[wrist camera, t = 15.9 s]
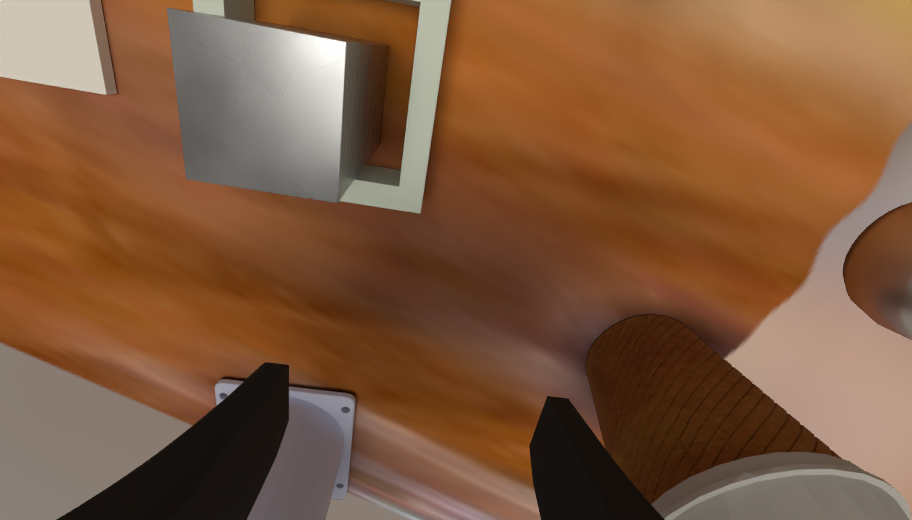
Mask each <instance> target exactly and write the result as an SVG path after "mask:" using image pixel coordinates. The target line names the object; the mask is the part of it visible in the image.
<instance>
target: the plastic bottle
mask: <svg viewBox="0 0 912 520" xmlns="http://www.w3.org/2000/svg"><path fill="white" fill-rule="evenodd" d="M843 277H844V282H845V286H846V290H847V293H848V295H849V297H850V299H851V300H852V301H853V302H854V303H855V304H856V305H857V306H858V307H859V308H860V309H861V310H863V311H864V312H865V313H866V314H867V315H868V316H869V317H870V318H872V319H873V320H874V321H875V322H876V323H877V324H879V325H881V326H883V327H885V328H887V329H889V330H892V331H894V332H896V333H898V334H900V335H902V336H904V337H907V338H908V339H911V340H912V203H909V204H905V205H902V206H900V207H897V208H895V209H893V210H891V211H889V212H887V213H886V214H884V215H883V216H881V217H879V218H878V219H877V220H875V221H874V222H873V223H872V224H871V225H869V226H868V227H867V228H866V229H865V230H864V231H863V232H862V233H861V234H860V235H859V236H858V238H857V239H856V240H855V242H854V243H853V244H852V246H851V248H850V250H849V252H848V253H847V255H846V258H845V262H844V265H843Z"/></svg>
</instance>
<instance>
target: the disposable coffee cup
mask: <svg viewBox="0 0 912 520" xmlns="http://www.w3.org/2000/svg"><path fill="white" fill-rule="evenodd" d="M691 332H692V331H690V330H689V329H688V328H687V327H686V326H685V325H684V324H683V323H681V322H679V321H677V320H676V319H673V318H670V317H667V316H660V315H642V316H637V317H632V318H630V319H627V320H624V321H621V322H619V323H617V324H615V325H613V326H612V327H611V328H609V329H608V330H607V331H605V332H604V333H603V334H602V335H601V336H600V337H599V338H598V339H597V340H596V341H595V343H594V344H593V346H592V347H591V349H590V351H589V354H588V357H587V360H586V372H587V376H588V380H589V384H590V388H591V392H592V396H593V400H594V404H595V409H596V412H597V417H598V421H599V425H600V430H601V433H602V437H603V441H604V445H605V449H606V451H607V452H608V453H609V454H610V456H611V457H612V458H613V460H614V461H615V462H616V463H617V465H618V466H619V467H620V468H621V470H622V471H623V472H624V473H625V475H626V476H627V477H628V478H629V480H630V481H631V482H632V483H633V484H634V485H635V487H636V488H637V489H638V490H639V491H640V492H641V494H642V495H643V496H644V497H645V498H646V499H647V501H648V502H649V503H650V504H651V505H652V506H653V507H654V508H655V509H656V511H657V512H658V513H659V514H660V515H661V516H662V517H663V518H664V519H665V520H911V512H910V510H909V506H908V504H907V502H906V501H905V499H904V498H903V497H902V496H901V494H900V493H899V492H898V491H897V490H896V489H895V488H893V487H892V486H891V485H890V484H888V483H887V482H886V481H884V480H883V479H881V478H879V477H877V476H874V475H872V474H870V473H868V472H866V471H864V470H862V469H860V468H859V467H857V466H856V465H854V464H853V463H851V462H850V461H847V460H844V459H842V458H841V457H839V456H838V455H837V454H836V453H835V452H833V451H832V450H830V448H829V447H828V446H827V445H825V444H824V443H823V442H822V441H820V440H819V439H818V438H817V437H814V434H812V433H811V432H810V431H809V430H808V429H806V428H805V427H804V426H802V425H800V423H799V422H798V421H797V420H796V419H794V418H793V417H792V416H791V415H790V414H787V412H786V411H785V410H784V409H783V408H781V407H780V406H779V405H778V404H777V403H774V401H773V400H772V399H771V398H770V397H769V396H767V395H766V394H765V393H763V392H762V390H760V389H759V388H758V387H757V386H756V385H754V384H752V382H751V381H750V380H748V379H747V378H746V377H745V376H743V375H742V373H740V372H739V371H738V370H736V369H735V368H734V367H732V365H731V364H730V363H728V362H727V361H726V360H723V358H722V357H721V356H720V355H719V354H718V353H716V352H715V351H714V350H713V349H712V348H710V347H709V346H708V345H707V344H706V343H705V342H703V341H702V340H701V339H699V337H698V336H696V335H695V334H694V333H691ZM706 345H707V346H706Z"/></svg>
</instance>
